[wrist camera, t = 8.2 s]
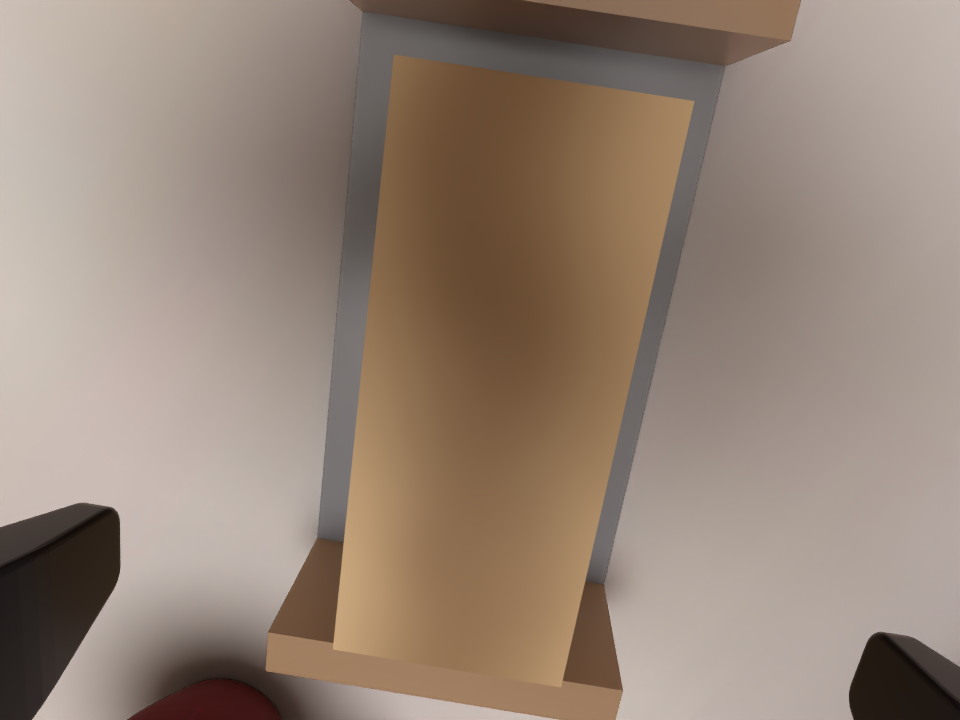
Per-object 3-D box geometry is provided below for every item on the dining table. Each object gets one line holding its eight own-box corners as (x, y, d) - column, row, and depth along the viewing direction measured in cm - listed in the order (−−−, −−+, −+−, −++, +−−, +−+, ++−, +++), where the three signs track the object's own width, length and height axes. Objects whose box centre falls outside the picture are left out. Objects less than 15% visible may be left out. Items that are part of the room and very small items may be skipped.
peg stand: (730, 17, 17) (809, -32, 13) (594, 604, 23) (612, 728, 18) (372, -37, 17) (315, -106, 13) (320, 560, 23) (265, 671, 18)
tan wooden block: (652, 111, 15) (694, 101, 11) (553, 577, 19) (561, 687, 15) (425, 76, 15) (393, 54, 12) (371, 547, 19) (332, 649, 15)
